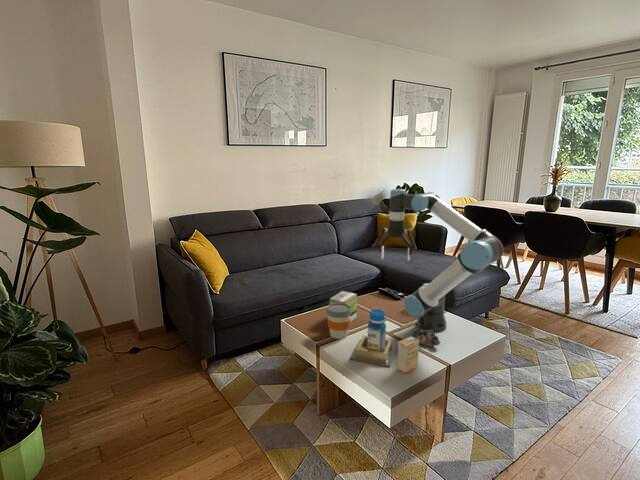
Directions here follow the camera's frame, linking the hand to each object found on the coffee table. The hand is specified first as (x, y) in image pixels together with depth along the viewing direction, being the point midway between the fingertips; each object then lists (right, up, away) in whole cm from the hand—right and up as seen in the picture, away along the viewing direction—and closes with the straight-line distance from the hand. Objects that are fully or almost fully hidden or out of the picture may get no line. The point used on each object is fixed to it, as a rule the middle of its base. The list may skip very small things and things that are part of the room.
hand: (395, 259), depth 188 cm
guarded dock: (-15, -43, -22) cm, 50 cm away
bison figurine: (+12, -41, -14) cm, 45 cm away
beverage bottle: (-14, -42, -23) cm, 50 cm away
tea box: (-27, -35, +13) cm, 46 cm away
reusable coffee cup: (-30, -39, -4) cm, 49 cm away
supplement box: (-2, -45, -34) cm, 57 cm away
